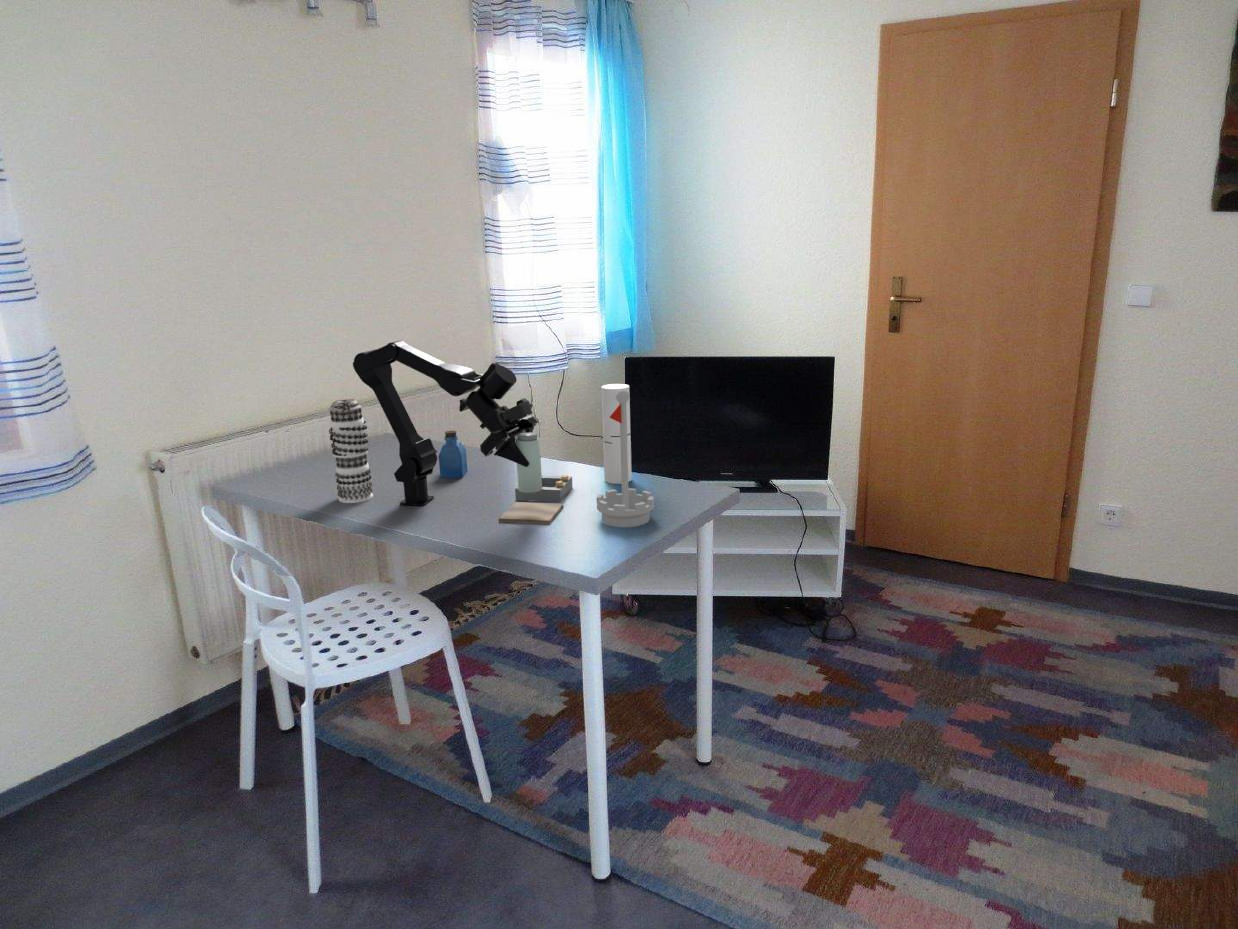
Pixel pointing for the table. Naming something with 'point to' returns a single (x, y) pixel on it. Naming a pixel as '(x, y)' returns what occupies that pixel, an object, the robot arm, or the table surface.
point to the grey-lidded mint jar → (532, 474)
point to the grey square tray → (548, 489)
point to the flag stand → (624, 484)
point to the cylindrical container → (614, 434)
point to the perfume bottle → (452, 457)
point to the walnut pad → (531, 512)
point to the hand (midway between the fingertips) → (534, 462)
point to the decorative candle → (350, 451)
